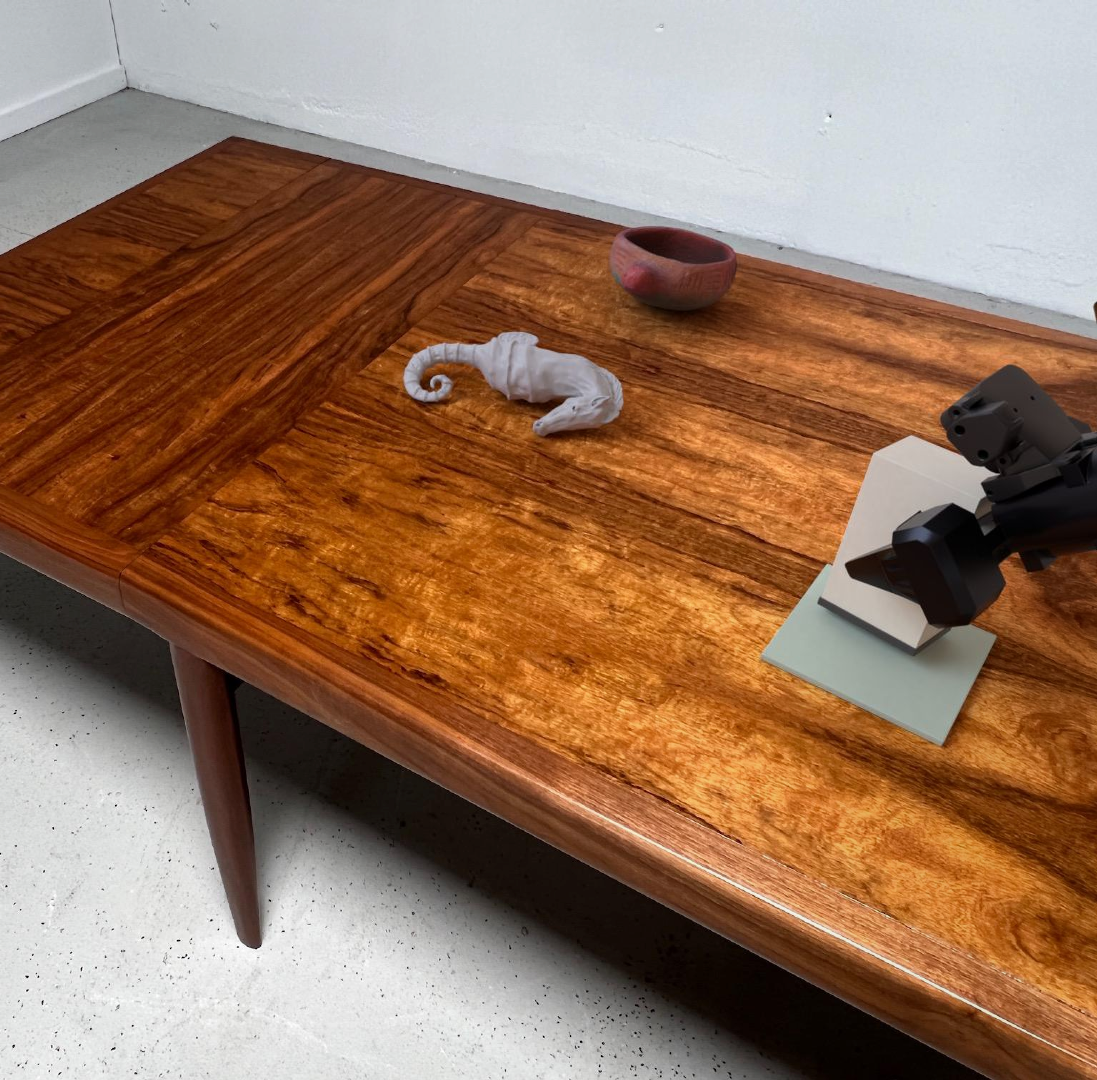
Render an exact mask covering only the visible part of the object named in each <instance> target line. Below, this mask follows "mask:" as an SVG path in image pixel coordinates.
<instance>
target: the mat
mask: <svg viewBox="0 0 1097 1080" xmlns="http://www.w3.org/2000/svg"><path fill="white" fill-rule="evenodd" d="M832 566H833V564H830V563H826V564H825V566H824V567H823V568H822V570H821V571H820V572H819V574H818V576H816V578H815V579H814V581H813V582H812V584H811V585H810V586H809V587H808V589H807V591H806V592H805V593H804V594H803V596H802V597H801V598H800V600H799V602H798V603H797V604H796V605H795V607H793V609H792V611H791V612H790V614H789V615H788V616H787V618H786V619H785V620H784V622H783V623H782V624H781V626H780V628H779V629H778V630H777V632H776V633H775V634H774V636H773V637H772V639H771V640H770V641H769V642H768V644H767V645H766V647H765V648H764V649H763V651H762V653H761V654H760V656H759V659H760V660H761V661H764V662H766V663H768V664H770V665H772V666H774V667H776V668H778V669H780V670H782V671H784V672H787V673H789V674H790V675H792V676H795V677H797V678H798V679H800V680H803V681H805V682H807V683H809V684H811V685H813V686H816V687H817V688H819V689H821V690H823V691H826V692H827V693H829V694H832V695H834V696H835V697H838V698H840V699H842V700H844V701H846V702H847V703H850V704H852V705H855V706H857V707H859V708H860V709H863V710H865V711H867V712H869V713H871V714H873V715H875V716H877V717H879V718H881V719H883V720H885V721H887V722H889V723H892V724H893V725H896V726H898V727H900V728H902V729H904V730H906V731H907V732H910V733H912V734H914V735H916V736H917V737H920V738H923V740H926V741H928V742H930V743H932V744H934V745H936V746H939V747H943V745H944V744H945V741H946V739H947V737H948V736H949V733H950V731H951V729H952V727H953V725H954V724H955V722H956V719H957V717H958V715H959V714H960V711H961V710H962V707H963V705H964V703H965V701H966V699H967V697H968V696H969V694H970V692H971V689H972V687H973V685H974V684H975V682H976V679H977V678H978V676H979V674H980V672H981V670H982V668H983V666H984V663H985V661H986V660H987V658H988V655H989V653H990V651H991V649H992V647H993V645H994V644H995V642H996V640H997V638H998V636H997V635H996V634H994V633H991V632H989V631H987V630H984V629H982V628H979V627H977V626H975V625H973V624H971V623H970V624H969V625H968V626H959V627H952V628H951V630H950V631H949V632H947V633H946V634H945V635H943V636H942V637H940V638H939V639H938V640H936V641H935V642H933V643H932V644H931V645H929V646H928V647H926V648H925V649H924V650H922V651H921V652H919V653H918V654H917V655H915V656H914V657H913V656H911V655H909V654H907V653H906V652H904V651H902V650H900V649H898V648H897V647H895V646H893V645H891V644H889V643H888V642H886V641H884V640H882V639H880V638H878V637H877V636H875V635H873V634H871V633H869V632H868V631H866V630H864V629H862V628H860V627H859V626H857V625H855V624H853V623H851V622H849V621H848V620H846V619H844V618H842V617H840V616H839V615H837V614H835V613H833V612H831V611H829V610H828V609H826V608H824V607H822V606H820V605H819V604H817V602H818V599H819V597H820V596H822V594H823V591H824V588H825V586H826V583H827V580H828V577H829V575H830V572H831V569H832Z"/></svg>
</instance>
